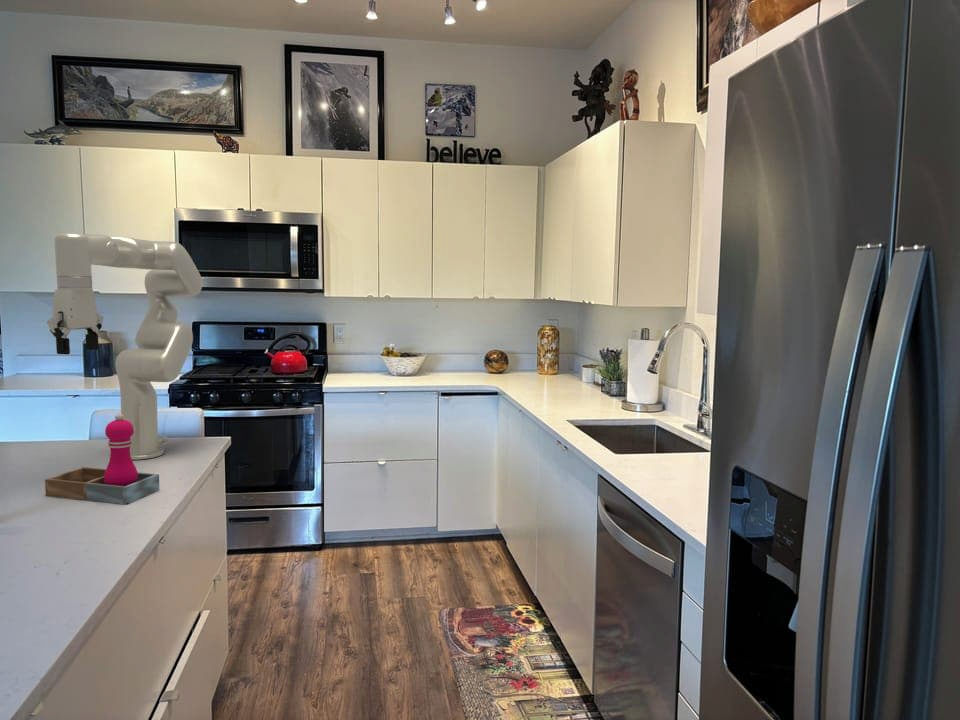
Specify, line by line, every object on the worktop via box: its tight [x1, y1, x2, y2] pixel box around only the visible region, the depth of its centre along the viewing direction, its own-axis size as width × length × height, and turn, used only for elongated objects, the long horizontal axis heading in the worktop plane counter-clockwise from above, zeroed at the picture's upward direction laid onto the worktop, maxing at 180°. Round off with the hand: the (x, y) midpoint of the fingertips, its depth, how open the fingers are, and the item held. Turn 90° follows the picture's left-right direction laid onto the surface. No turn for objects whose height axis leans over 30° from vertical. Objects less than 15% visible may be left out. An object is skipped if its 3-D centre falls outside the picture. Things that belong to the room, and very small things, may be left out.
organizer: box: [44, 466, 160, 505], centre depth 161 cm, size 11×22×4 cm, turn 78°
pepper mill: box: [104, 412, 138, 486], centre depth 159 cm, size 7×7×20 cm
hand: (78, 351), depth 168 cm, fingers open, 9 cm apart
